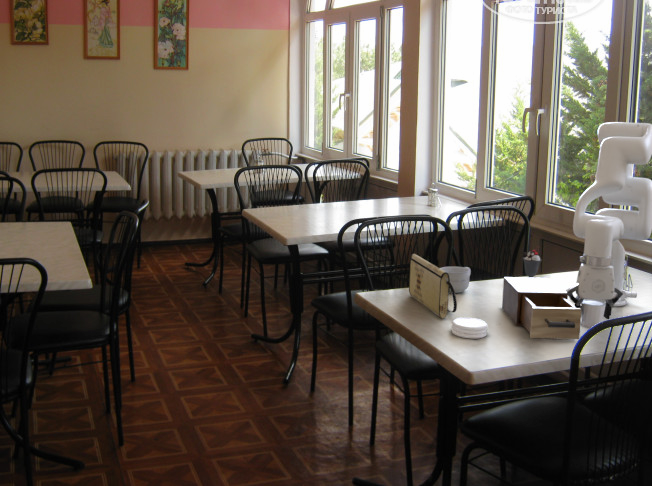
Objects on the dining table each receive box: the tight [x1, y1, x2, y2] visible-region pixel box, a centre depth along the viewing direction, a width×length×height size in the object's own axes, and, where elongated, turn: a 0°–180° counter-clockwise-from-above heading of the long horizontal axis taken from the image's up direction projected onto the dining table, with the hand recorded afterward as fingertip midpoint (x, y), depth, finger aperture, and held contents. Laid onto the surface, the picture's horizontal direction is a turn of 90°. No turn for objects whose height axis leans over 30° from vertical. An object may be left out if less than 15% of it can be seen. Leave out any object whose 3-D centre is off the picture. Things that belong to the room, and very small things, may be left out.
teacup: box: [439, 266, 472, 294], centre depth 259 cm, size 14×11×8 cm
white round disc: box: [451, 316, 488, 340], centre depth 214 cm, size 10×10×4 cm
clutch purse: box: [408, 253, 458, 320], centre depth 239 cm, size 30×7×15 cm, turn 12°
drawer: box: [519, 295, 582, 340], centre depth 213 cm, size 22×13×9 cm, turn 178°
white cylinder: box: [581, 299, 606, 329], centre depth 223 cm, size 7×7×7 cm
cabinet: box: [501, 276, 569, 327], centre depth 229 cm, size 18×15×11 cm
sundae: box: [521, 245, 543, 278], centre depth 266 cm, size 7×7×15 cm
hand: (592, 317), depth 223 cm, fingers open, 7 cm apart
